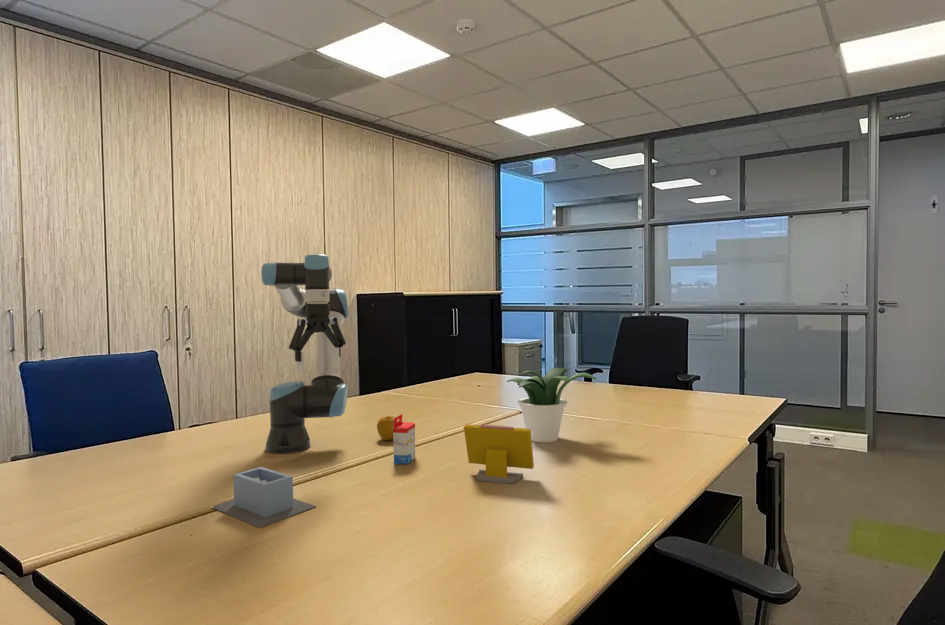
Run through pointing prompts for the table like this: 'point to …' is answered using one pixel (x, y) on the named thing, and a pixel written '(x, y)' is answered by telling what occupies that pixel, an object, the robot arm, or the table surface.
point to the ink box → (403, 441)
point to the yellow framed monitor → (499, 451)
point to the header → (258, 519)
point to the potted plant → (544, 403)
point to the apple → (386, 427)
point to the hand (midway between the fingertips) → (318, 369)
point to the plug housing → (263, 491)
